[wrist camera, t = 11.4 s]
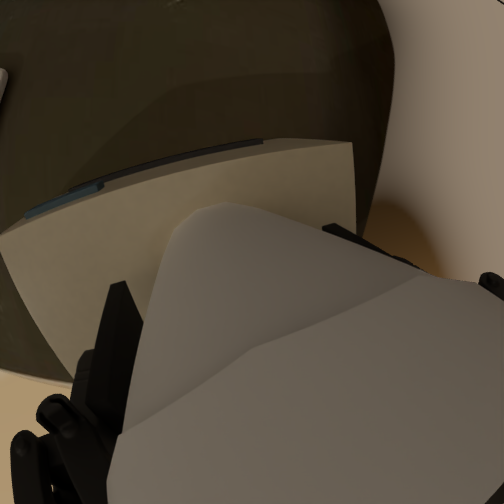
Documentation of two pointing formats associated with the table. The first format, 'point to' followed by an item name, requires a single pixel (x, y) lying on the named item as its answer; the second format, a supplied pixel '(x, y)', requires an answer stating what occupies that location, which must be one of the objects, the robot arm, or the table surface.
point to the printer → (159, 224)
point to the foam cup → (308, 374)
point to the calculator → (3, 81)
